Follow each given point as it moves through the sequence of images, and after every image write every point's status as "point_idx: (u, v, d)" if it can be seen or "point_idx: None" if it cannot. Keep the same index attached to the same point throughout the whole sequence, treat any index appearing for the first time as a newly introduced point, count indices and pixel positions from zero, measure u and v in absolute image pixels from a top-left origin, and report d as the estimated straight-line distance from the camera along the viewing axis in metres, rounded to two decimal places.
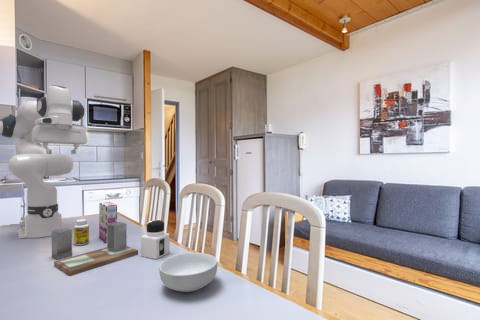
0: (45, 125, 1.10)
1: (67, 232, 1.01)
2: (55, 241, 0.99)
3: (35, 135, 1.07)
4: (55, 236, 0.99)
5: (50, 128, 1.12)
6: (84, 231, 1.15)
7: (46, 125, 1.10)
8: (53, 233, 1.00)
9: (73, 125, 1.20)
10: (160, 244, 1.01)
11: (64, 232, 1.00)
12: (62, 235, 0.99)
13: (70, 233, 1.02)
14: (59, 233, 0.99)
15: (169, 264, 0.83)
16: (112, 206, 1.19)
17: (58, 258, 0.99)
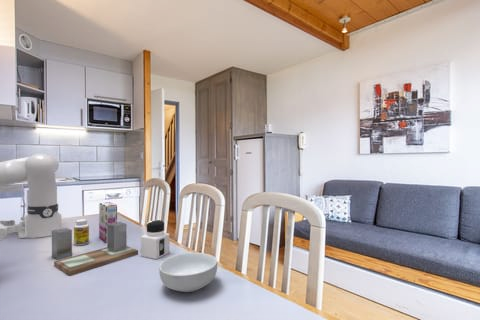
0: None
1: (67, 232, 1.01)
2: (55, 241, 0.99)
3: None
4: (55, 236, 0.99)
5: None
6: (84, 231, 1.15)
7: None
8: (53, 233, 1.00)
9: None
10: (160, 244, 1.01)
11: (64, 232, 1.00)
12: (62, 235, 0.99)
13: (70, 233, 1.02)
14: (59, 233, 0.99)
15: (169, 264, 0.83)
16: (112, 206, 1.19)
17: (58, 258, 0.99)
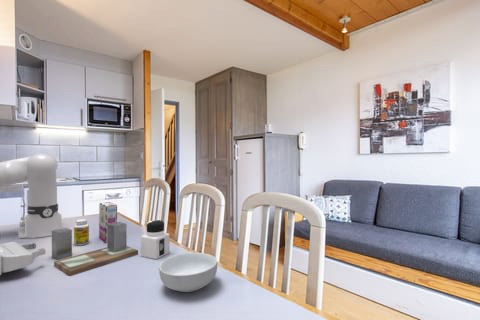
0: (2, 254, 0.83)
1: (67, 232, 1.01)
2: (55, 241, 0.99)
3: (23, 254, 0.84)
4: (55, 236, 0.99)
5: (5, 253, 0.85)
6: (84, 231, 1.15)
7: (2, 253, 0.83)
8: (53, 233, 1.00)
9: None
10: (160, 244, 1.01)
11: (64, 232, 1.00)
12: (62, 235, 0.99)
13: (70, 233, 1.02)
14: (59, 233, 0.99)
15: (169, 264, 0.83)
16: (112, 206, 1.19)
17: (58, 258, 0.99)
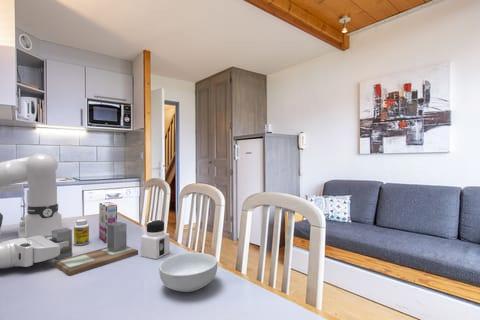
0: (33, 245, 0.89)
1: (67, 232, 1.01)
2: (55, 241, 0.99)
3: (52, 246, 0.91)
4: (55, 236, 0.99)
5: None
6: (84, 231, 1.15)
7: (33, 245, 0.89)
8: (53, 233, 1.00)
9: None
10: (160, 244, 1.01)
11: (64, 232, 1.00)
12: (62, 235, 0.99)
13: (70, 233, 1.02)
14: (59, 233, 0.99)
15: (169, 264, 0.83)
16: (112, 206, 1.19)
17: (58, 258, 0.99)
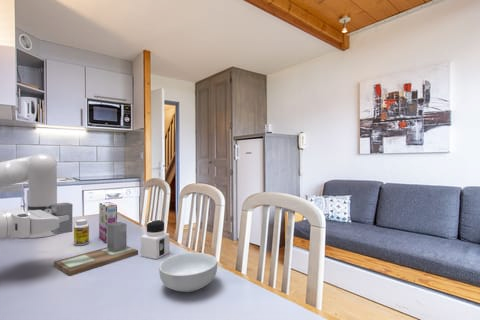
0: (31, 216, 0.84)
1: (67, 206, 0.96)
2: (55, 215, 0.94)
3: (50, 218, 0.85)
4: (55, 209, 0.94)
5: None
6: (84, 231, 1.15)
7: (30, 216, 0.84)
8: (53, 206, 0.95)
9: None
10: (160, 244, 1.01)
11: (64, 206, 0.95)
12: (62, 209, 0.94)
13: (70, 207, 0.96)
14: (59, 206, 0.94)
15: (169, 264, 0.83)
16: (112, 206, 1.19)
17: (57, 233, 0.93)
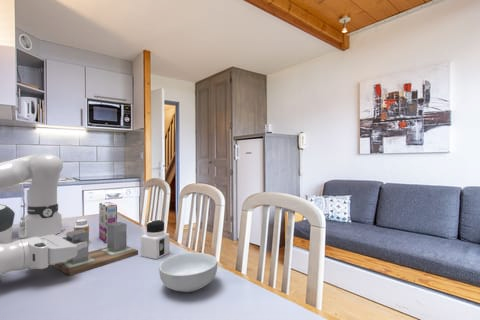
0: (48, 245, 0.81)
1: (83, 234, 0.92)
2: None
3: (68, 246, 0.82)
4: (71, 238, 0.90)
5: None
6: None
7: (48, 245, 0.81)
8: (68, 235, 0.91)
9: None
10: (160, 244, 1.01)
11: (80, 234, 0.91)
12: (78, 237, 0.91)
13: (86, 235, 0.93)
14: (75, 235, 0.90)
15: (169, 264, 0.83)
16: (112, 206, 1.19)
17: (74, 262, 0.90)
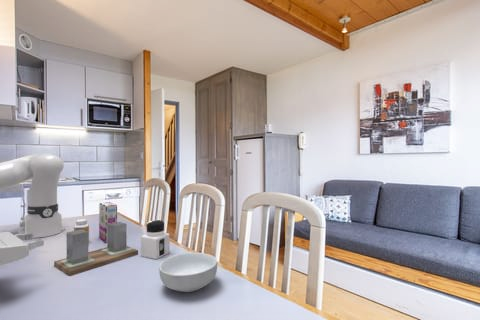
0: None
1: (83, 234, 0.92)
2: (71, 244, 0.90)
3: (17, 245, 0.72)
4: (71, 238, 0.90)
5: None
6: None
7: None
8: (68, 235, 0.91)
9: None
10: (160, 244, 1.01)
11: (80, 234, 0.91)
12: (78, 237, 0.91)
13: (86, 235, 0.93)
14: (75, 235, 0.90)
15: (169, 264, 0.83)
16: (112, 206, 1.19)
17: (74, 262, 0.90)
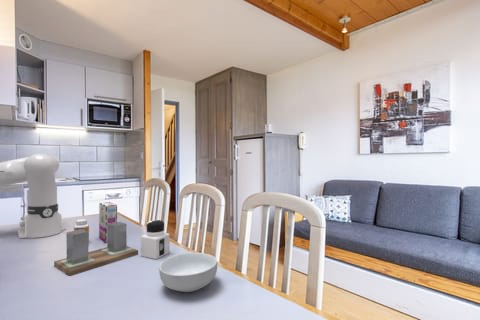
0: None
1: (83, 234, 0.92)
2: (71, 244, 0.90)
3: None
4: (71, 238, 0.90)
5: None
6: None
7: None
8: (68, 235, 0.91)
9: None
10: (160, 244, 1.01)
11: (80, 234, 0.91)
12: (78, 237, 0.91)
13: (86, 235, 0.93)
14: (75, 235, 0.90)
15: (169, 264, 0.83)
16: (112, 206, 1.19)
17: (74, 262, 0.90)
